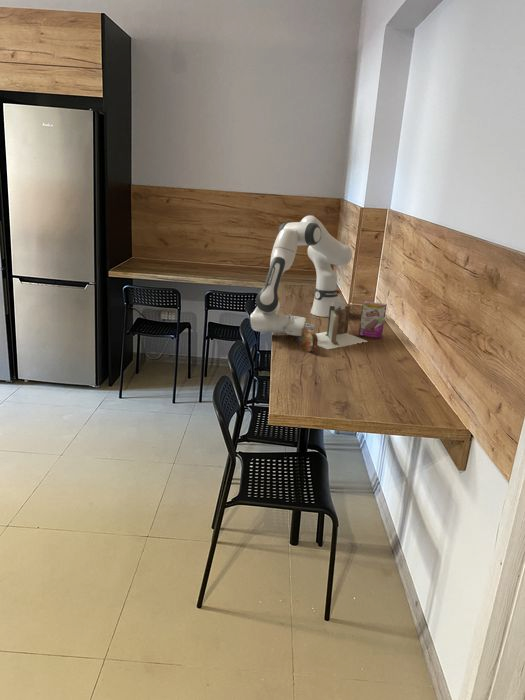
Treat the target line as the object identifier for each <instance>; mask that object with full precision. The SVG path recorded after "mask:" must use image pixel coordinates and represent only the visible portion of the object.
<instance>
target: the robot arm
mask: <svg viewBox="0 0 525 700" xmlns="http://www.w3.org/2000/svg"><path fill="white" fill-rule="evenodd" d="M298 246H308V247H307V257H308V258H309V259H310V260H311V262H312V263H313V265H314V268H315V272H316V274H315V275H316V283H315V288H314V293H313V294H314V298H313V303H312V307H311V309H310V314H312V315H313V316H317V317H323V318H329V309H330V306H335V310H338V309H345V306H347V305H346V303H345V301H343V299H342V298H341V297H339V295H341V294H342V289H341V290H340V289H337V286H338V285H337V283H338V275H337V273H336V271H334V270H333V269H332V266H331V265H336V266H345V265H346V266H347V265H348V264H349V263H350V262H351V260H352V259H353V258H352V257H353V251H352V248H351V247H349V246H348V245H345V244H344V243H343V242H341V241H339V240H338V239H336V237H333V236H332V234H330V233H329V231H328V230H327V228H326V227H325V225H324V224H323V223H322V222H321V221H320V220H319V219H318V218H317V217H315V215H312V214H311V215H306V216H304V217H303V218H302V219H301V220H300V221H299V222H298V221H295V222H293V221H292V222H289V221H287V222H284V223H282V224H280V225H279V227H278V230H277V236H276V238H275V241H274V244H273V247H272V250H271V255H270V263H269V269H268V272H267V275H266V279H265V282H264V285H263V287H262V288H261V289H260V290H259V292H258V294H257V295H256V297H255V304H256V307H255V309H254V310H253V312H251V313H250V315H249V324H250V328H251V329H252V330H253V331H255V332H258V333H265V334H266V333H267V334H270V333H273V334H276V335H285V336H287V335H290V336H294V337H295V336H296V337H298V336H302V334H303V328H307V329H309V330H310V331H312V332H314V331H315V327H316V325H315V324H310V323H307V318H306V317H302V316H297V315H291V314H290V313H286V314H278V313H279V310H280V307H281V303H280V300H279V295H278V289H279V287H280V283H281V279H282V276H283V275H284V273H285V272H286V271H288V270H289V269H291V267H292V265H293V263H294V260H295V257H296V254H297V250H298Z"/></svg>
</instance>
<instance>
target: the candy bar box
mask: <svg viewBox="0 0 525 700" xmlns="http://www.w3.org/2000/svg"><path fill="white" fill-rule="evenodd" d="M387 305H388V304H387V303H382V302H381V303H380V302H374V301H367V300H363V303H362V307H361V314H360V322H359V328H358V336H359V335H361V337H366V336H368V338H373V337H374V339H380V338H381V339H382V338H383V332H384V325H385V319H386V313H387V312H386V311H387V308H388V307H387Z"/></svg>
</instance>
